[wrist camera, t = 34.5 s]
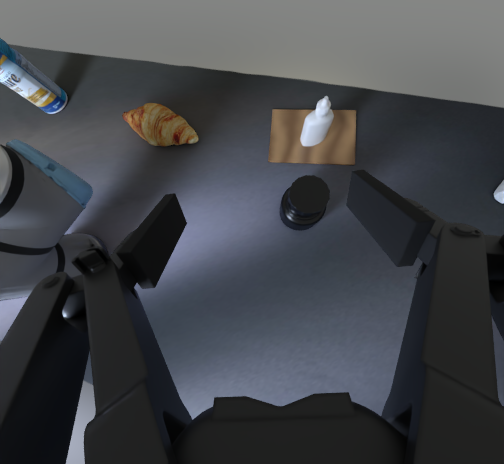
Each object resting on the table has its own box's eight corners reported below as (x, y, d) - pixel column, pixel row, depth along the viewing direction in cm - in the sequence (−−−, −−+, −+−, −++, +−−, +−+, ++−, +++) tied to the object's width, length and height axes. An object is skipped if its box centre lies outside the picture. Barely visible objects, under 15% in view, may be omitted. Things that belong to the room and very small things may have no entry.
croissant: (208, 141, 53) (205, 109, 46) (190, 161, 47) (183, 128, 41) (141, 121, 55) (129, 89, 49) (116, 139, 50) (98, 104, 43)
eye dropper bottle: (302, 129, 47) (312, 85, 35) (325, 133, 46) (344, 89, 34) (298, 146, 46) (308, 106, 34) (322, 149, 46) (340, 111, 34)
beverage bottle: (73, 91, 56) (-34, -1, 36) (62, 117, 55) (-54, 36, 35) (49, 87, 57) (-67, -5, 37) (38, 112, 56) (-88, 31, 36)
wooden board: (268, 162, 47) (268, 161, 46) (272, 110, 49) (272, 109, 48) (354, 165, 45) (355, 164, 44) (355, 111, 47) (356, 110, 46)
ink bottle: (322, 196, 44) (341, 173, 32) (318, 234, 43) (336, 223, 31) (280, 191, 45) (284, 166, 34) (274, 227, 44) (276, 215, 32)
